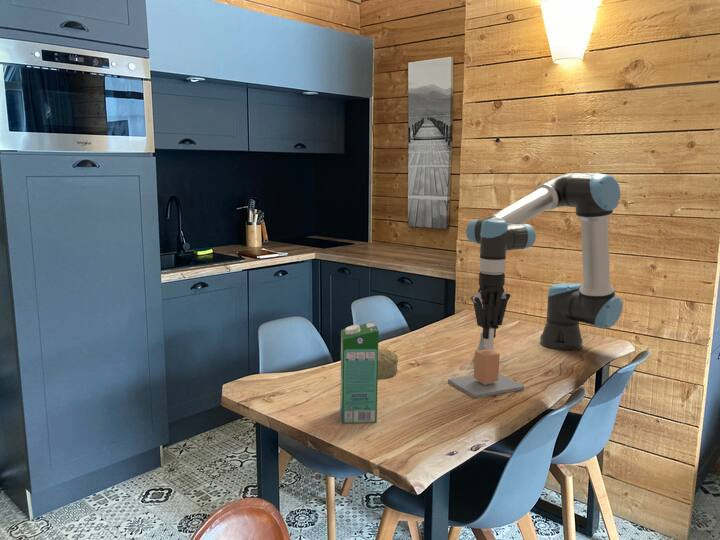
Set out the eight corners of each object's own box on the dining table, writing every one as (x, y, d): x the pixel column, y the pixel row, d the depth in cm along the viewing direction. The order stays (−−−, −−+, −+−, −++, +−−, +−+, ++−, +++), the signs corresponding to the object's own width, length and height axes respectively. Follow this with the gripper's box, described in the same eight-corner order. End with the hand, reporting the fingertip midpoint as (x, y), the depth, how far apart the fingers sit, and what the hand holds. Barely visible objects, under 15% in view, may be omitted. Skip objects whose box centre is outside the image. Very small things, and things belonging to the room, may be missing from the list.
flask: (494, 365, 204) (495, 337, 202) (472, 364, 205) (473, 335, 203) (494, 359, 211) (495, 331, 209) (472, 357, 212) (474, 329, 210)
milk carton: (340, 409, 167) (341, 321, 162) (373, 408, 167) (374, 320, 163) (342, 423, 158) (343, 330, 153) (376, 422, 158) (378, 330, 154)
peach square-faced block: (487, 375, 189) (489, 348, 187) (498, 381, 184) (499, 353, 182) (473, 377, 186) (475, 350, 185) (483, 383, 182) (485, 356, 180)
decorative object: (399, 384, 195) (403, 354, 199) (390, 376, 187) (394, 345, 191) (372, 382, 199) (376, 353, 203) (362, 374, 190) (366, 344, 194)
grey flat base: (495, 374, 195) (497, 344, 194) (523, 389, 183) (526, 357, 181) (447, 382, 188) (449, 351, 186) (474, 398, 176) (476, 365, 174)
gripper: (501, 268, 186) (498, 342, 190) (466, 271, 180) (463, 347, 185) (517, 272, 179) (513, 349, 183) (481, 276, 174) (478, 355, 178)
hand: (488, 348), depth 184 cm, fingers closed
